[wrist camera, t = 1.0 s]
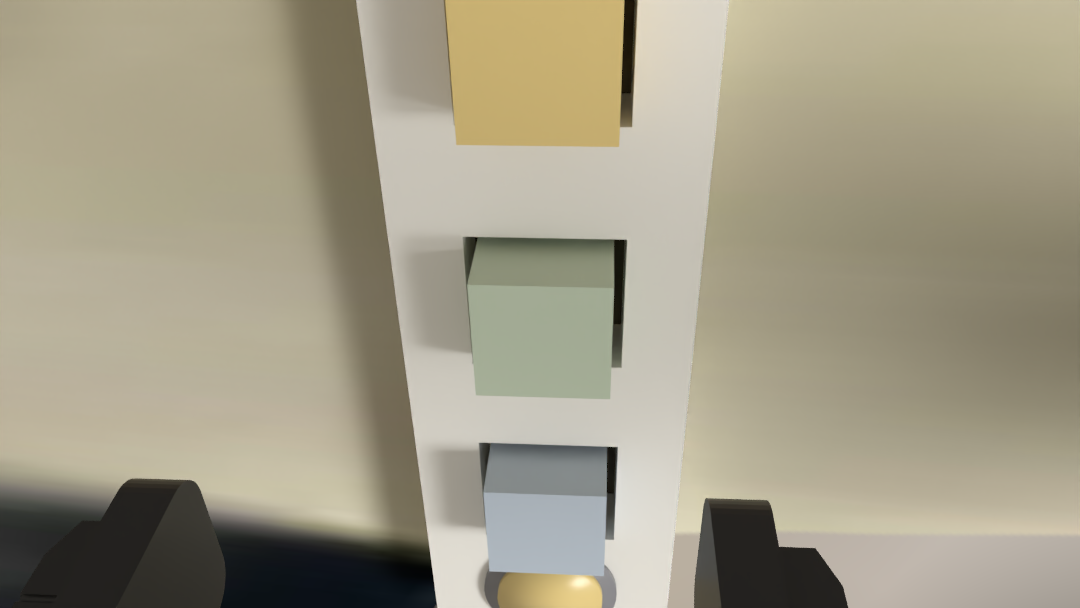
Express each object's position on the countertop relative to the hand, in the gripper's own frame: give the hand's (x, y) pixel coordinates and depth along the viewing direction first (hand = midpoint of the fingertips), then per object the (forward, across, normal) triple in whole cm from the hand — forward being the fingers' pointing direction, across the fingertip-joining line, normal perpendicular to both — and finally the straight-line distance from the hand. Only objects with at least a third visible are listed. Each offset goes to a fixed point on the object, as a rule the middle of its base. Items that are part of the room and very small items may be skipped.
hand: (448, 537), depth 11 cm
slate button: (+18, 0, +18) cm, 25 cm away
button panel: (+20, 0, +11) cm, 22 cm away
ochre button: (+18, 0, 0) cm, 18 cm away
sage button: (+18, 0, +9) cm, 20 cm away
